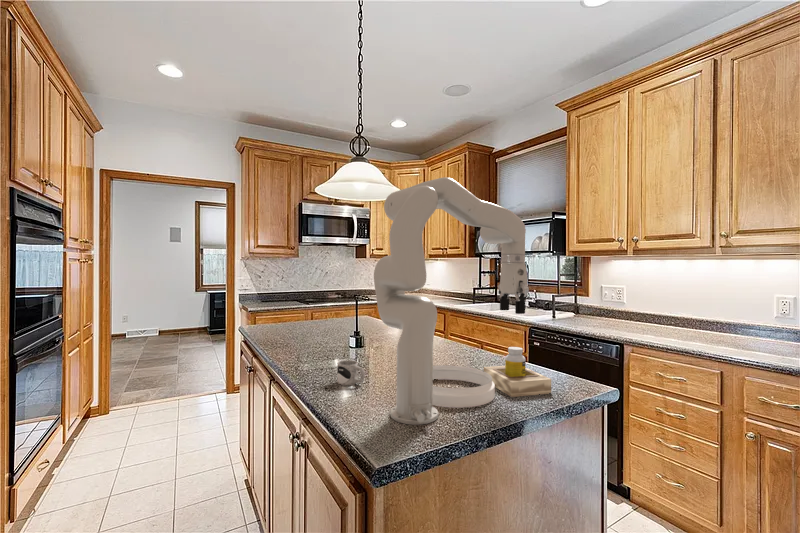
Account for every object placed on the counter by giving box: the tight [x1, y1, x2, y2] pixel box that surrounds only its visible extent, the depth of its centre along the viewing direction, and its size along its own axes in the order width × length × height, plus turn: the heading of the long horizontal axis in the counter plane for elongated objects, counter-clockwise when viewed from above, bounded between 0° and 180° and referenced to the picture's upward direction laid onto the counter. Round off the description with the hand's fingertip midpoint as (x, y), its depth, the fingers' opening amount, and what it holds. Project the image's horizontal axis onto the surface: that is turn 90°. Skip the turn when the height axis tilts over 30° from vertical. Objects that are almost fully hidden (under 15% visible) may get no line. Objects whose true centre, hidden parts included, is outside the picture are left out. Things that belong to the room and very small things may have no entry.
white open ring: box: [432, 364, 496, 409], centre depth 123 cm, size 27×27×6 cm
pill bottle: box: [504, 346, 527, 377], centre depth 129 cm, size 6×6×12 cm
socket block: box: [483, 365, 552, 398], centre depth 129 cm, size 18×14×5 cm
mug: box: [336, 360, 365, 386], centre depth 130 cm, size 10×7×7 cm, turn 60°
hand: (512, 311), depth 129 cm, fingers open, 9 cm apart
